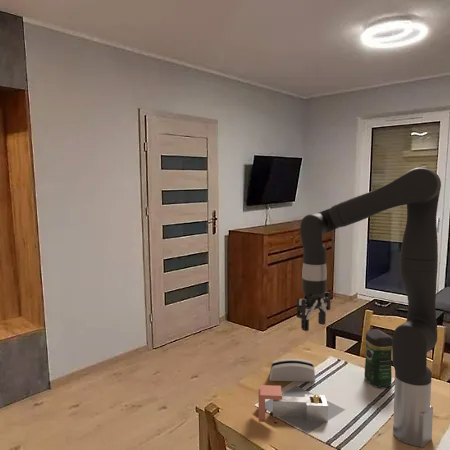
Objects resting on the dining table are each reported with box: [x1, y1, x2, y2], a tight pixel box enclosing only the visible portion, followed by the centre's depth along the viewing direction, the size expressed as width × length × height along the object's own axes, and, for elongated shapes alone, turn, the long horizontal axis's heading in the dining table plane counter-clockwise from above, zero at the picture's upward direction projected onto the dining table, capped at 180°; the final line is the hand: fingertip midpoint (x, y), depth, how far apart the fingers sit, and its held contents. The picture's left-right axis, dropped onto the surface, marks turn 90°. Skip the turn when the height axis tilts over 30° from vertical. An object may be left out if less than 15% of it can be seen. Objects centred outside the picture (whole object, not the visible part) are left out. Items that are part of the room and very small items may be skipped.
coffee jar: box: [364, 328, 393, 388], centre depth 143 cm, size 10×8×19 cm
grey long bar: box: [272, 394, 329, 423], centre depth 122 cm, size 16×6×5 cm, turn 85°
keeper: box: [258, 384, 283, 423], centre depth 123 cm, size 7×6×8 cm
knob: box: [313, 394, 319, 403], centre depth 122 cm, size 2×2×7 cm
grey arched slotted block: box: [268, 358, 316, 383], centre depth 145 cm, size 17×5×10 cm, turn 86°
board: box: [265, 385, 346, 434], centre depth 127 cm, size 20×18×1 cm
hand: (313, 327), depth 127 cm, fingers open, 8 cm apart
